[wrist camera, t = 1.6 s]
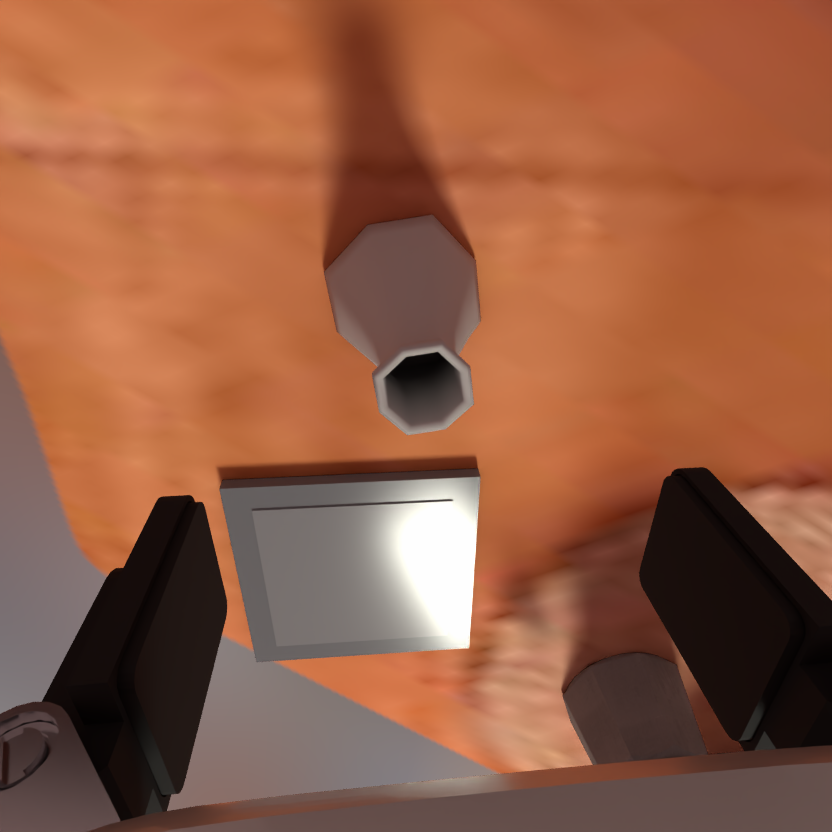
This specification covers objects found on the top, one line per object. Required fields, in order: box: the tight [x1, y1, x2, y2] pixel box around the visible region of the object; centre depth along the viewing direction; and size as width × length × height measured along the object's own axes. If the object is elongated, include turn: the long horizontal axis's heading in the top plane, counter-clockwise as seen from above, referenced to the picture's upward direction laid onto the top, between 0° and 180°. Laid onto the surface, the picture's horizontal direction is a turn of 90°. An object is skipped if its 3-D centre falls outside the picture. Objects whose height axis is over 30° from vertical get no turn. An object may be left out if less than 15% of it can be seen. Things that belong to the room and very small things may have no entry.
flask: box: [324, 215, 481, 435], centre depth 22 cm, size 7×7×10 cm
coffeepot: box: [563, 653, 708, 765], centre depth 35 cm, size 15×9×18 cm, turn 85°
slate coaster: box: [220, 468, 480, 662], centre depth 34 cm, size 14×14×1 cm
